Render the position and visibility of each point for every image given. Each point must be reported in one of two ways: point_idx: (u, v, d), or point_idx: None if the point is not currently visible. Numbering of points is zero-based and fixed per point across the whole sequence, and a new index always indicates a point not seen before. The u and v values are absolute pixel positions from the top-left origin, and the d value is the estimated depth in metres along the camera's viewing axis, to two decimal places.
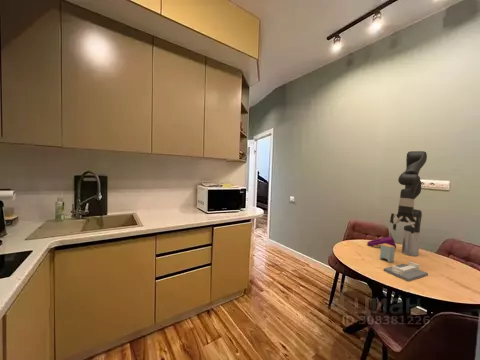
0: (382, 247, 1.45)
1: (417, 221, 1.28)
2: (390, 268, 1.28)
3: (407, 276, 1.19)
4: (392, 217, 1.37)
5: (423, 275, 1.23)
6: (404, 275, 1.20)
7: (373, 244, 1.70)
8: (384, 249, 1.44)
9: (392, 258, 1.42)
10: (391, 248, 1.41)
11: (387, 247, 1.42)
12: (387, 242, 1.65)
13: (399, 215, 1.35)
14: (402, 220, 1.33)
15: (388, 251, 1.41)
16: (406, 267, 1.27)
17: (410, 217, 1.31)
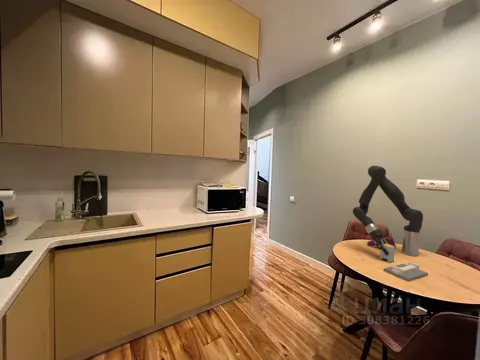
0: None
1: None
2: (390, 268, 1.28)
3: (407, 276, 1.19)
4: None
5: (423, 275, 1.23)
6: (404, 275, 1.20)
7: (373, 244, 1.70)
8: None
9: (392, 258, 1.42)
10: (391, 248, 1.41)
11: (387, 247, 1.42)
12: None
13: None
14: None
15: (388, 251, 1.41)
16: (406, 267, 1.27)
17: None
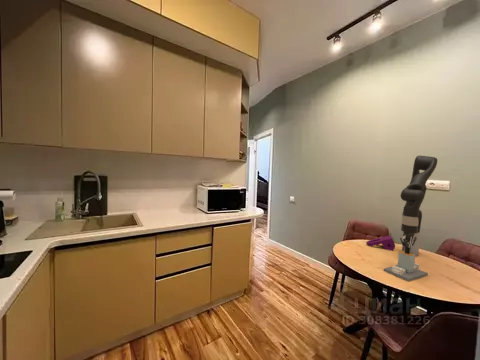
0: (400, 255, 1.27)
1: None
2: (390, 268, 1.28)
3: (407, 276, 1.19)
4: None
5: (423, 275, 1.23)
6: (404, 275, 1.20)
7: (372, 244, 1.70)
8: (402, 258, 1.26)
9: (412, 268, 1.24)
10: (411, 256, 1.23)
11: (406, 255, 1.24)
12: (386, 242, 1.66)
13: None
14: None
15: (407, 260, 1.23)
16: None
17: None
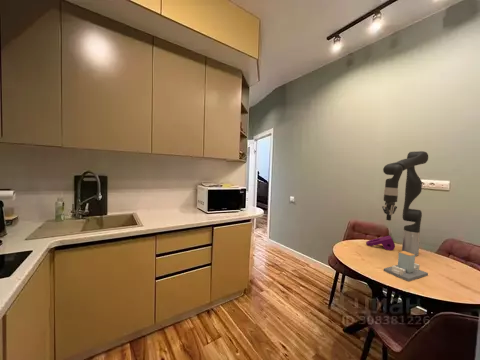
0: (400, 255, 1.27)
1: None
2: (390, 268, 1.28)
3: (407, 276, 1.19)
4: None
5: (423, 275, 1.23)
6: (404, 275, 1.20)
7: (372, 244, 1.70)
8: (402, 258, 1.26)
9: (412, 268, 1.24)
10: (411, 256, 1.23)
11: (406, 255, 1.24)
12: (386, 242, 1.66)
13: None
14: None
15: (407, 260, 1.23)
16: None
17: None
